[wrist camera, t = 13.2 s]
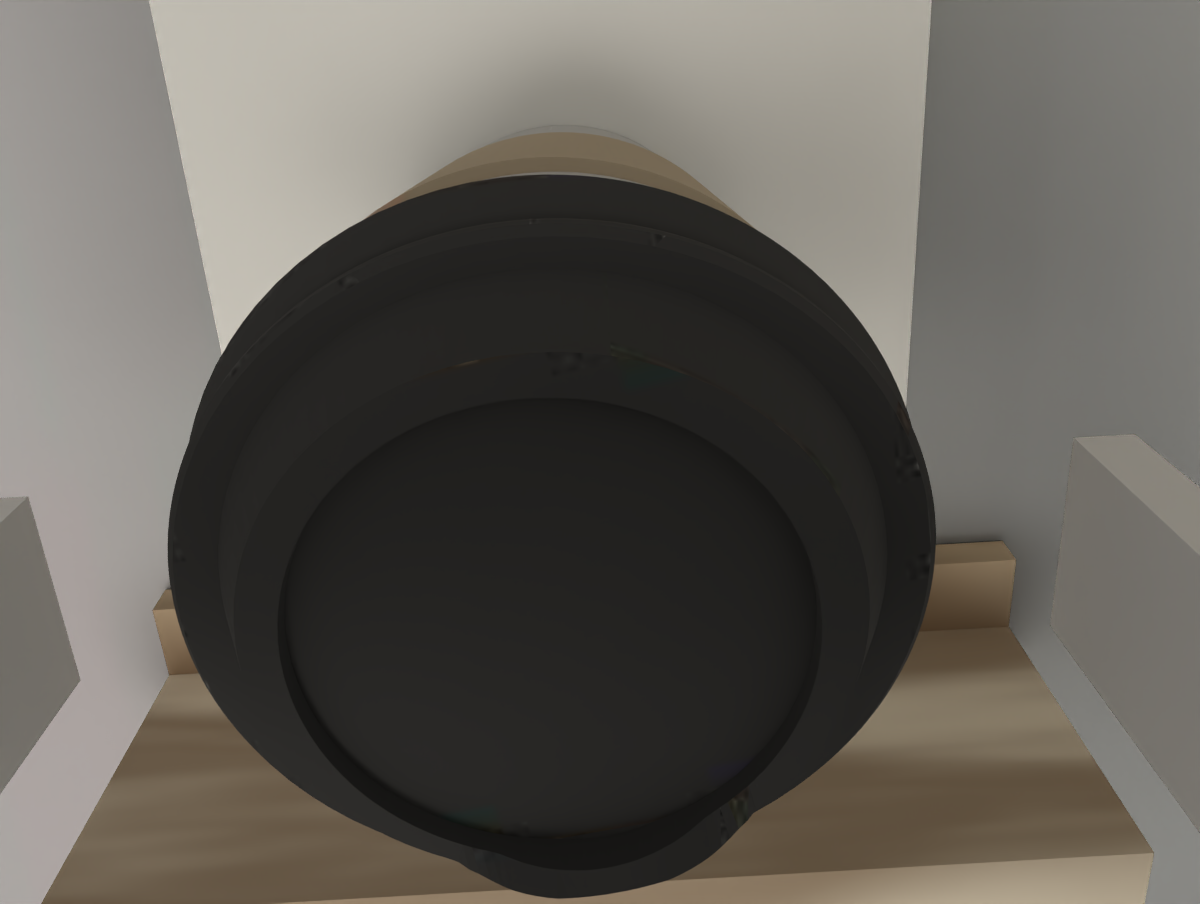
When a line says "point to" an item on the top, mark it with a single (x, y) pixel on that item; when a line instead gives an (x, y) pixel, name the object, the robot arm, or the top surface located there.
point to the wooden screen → (734, 872)
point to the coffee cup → (552, 519)
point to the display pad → (553, 119)
